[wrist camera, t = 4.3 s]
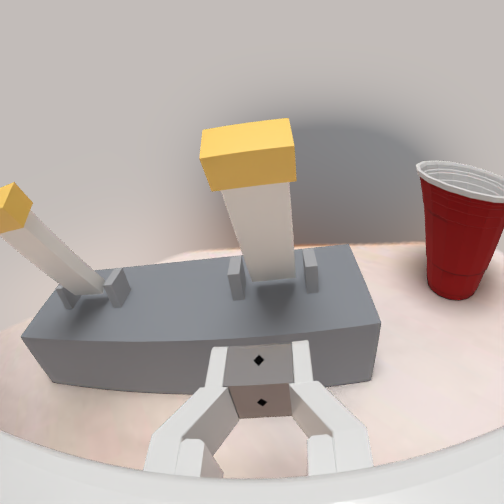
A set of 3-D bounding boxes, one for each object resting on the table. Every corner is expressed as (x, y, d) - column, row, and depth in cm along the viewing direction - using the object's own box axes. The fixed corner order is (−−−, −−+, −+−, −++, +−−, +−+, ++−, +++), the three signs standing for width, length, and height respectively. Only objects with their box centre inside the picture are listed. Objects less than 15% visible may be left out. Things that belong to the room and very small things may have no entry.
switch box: (53, 382, 24) (8, 317, 20) (90, 315, 33) (62, 253, 29) (370, 380, 21) (385, 294, 17) (346, 296, 30) (347, 219, 26)
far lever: (71, 298, 24) (-29, 218, 13) (75, 279, 25) (-18, 195, 14) (105, 297, 23) (2, 207, 13) (108, 276, 24) (14, 182, 14)
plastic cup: (514, 297, 24) (543, 188, 18) (443, 331, 24) (472, 201, 18) (458, 248, 34) (469, 154, 28) (388, 268, 33) (393, 160, 27)
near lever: (248, 286, 22) (199, 158, 12) (247, 263, 23) (202, 129, 13) (300, 281, 22) (294, 145, 11) (297, 258, 23) (288, 118, 12)
